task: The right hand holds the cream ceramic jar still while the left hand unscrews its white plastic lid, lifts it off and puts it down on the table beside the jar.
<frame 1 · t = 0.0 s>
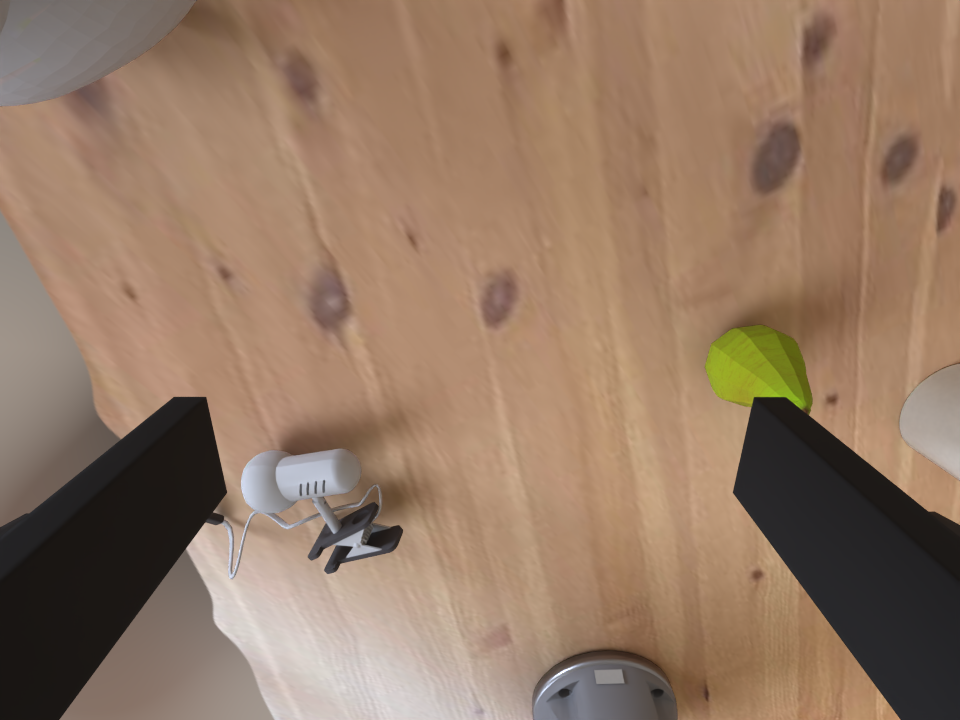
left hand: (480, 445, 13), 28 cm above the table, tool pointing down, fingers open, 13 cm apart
fruit: (732, 350, 42), on the table
clip-on lamp: (295, 494, 47), on the table
jar: (953, 410, 44), on the table
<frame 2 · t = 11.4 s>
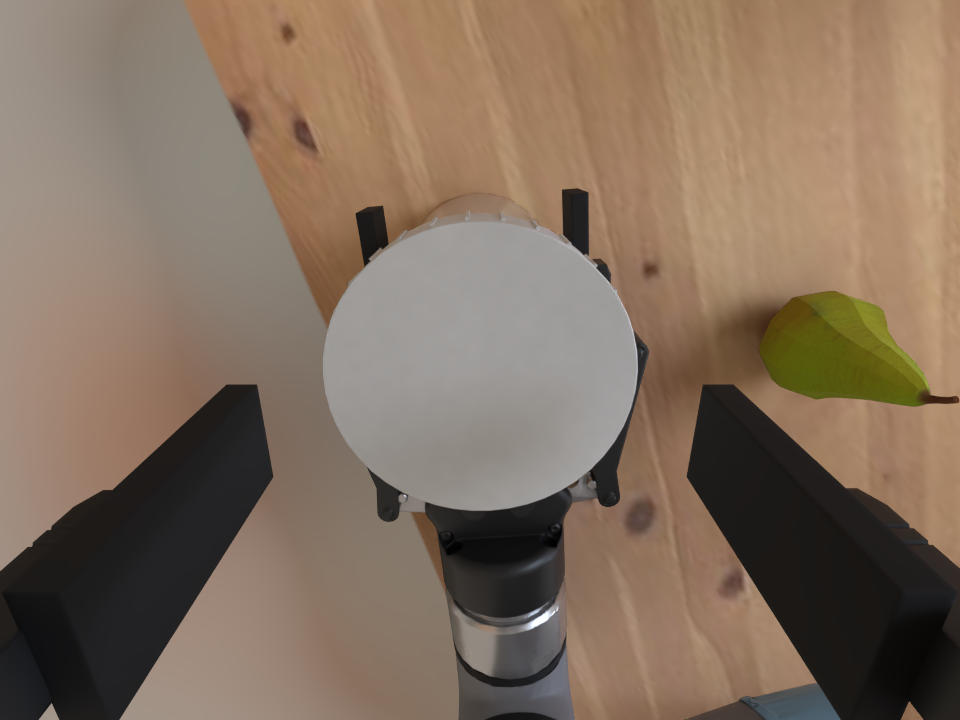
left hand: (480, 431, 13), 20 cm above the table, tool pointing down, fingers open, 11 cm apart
fruit: (791, 327, 33), on the table
jar: (480, 268, 32), on the table, touching right hand
lid: (480, 378, 17), point 17 cm above the table, screwed on, not yet turned
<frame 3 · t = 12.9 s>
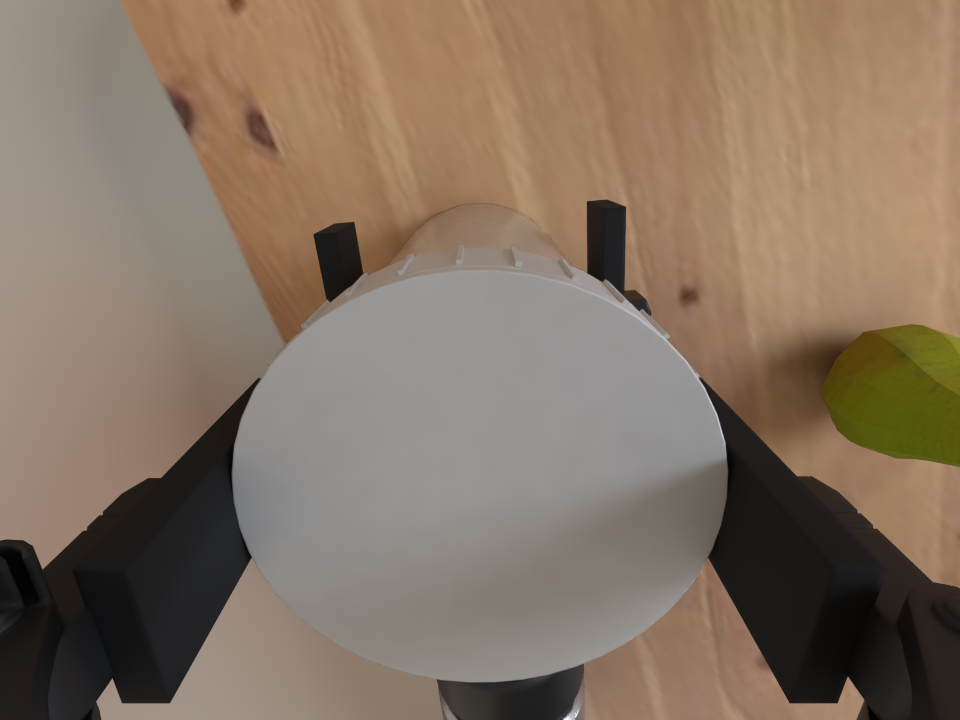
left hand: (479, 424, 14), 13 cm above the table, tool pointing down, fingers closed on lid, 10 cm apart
fruit: (857, 364, 27), on the table
jar: (480, 294, 26), on the table, touching right hand
lid: (479, 502, 11), point 17 cm above the table, screwed on, not yet turned, touching left hand
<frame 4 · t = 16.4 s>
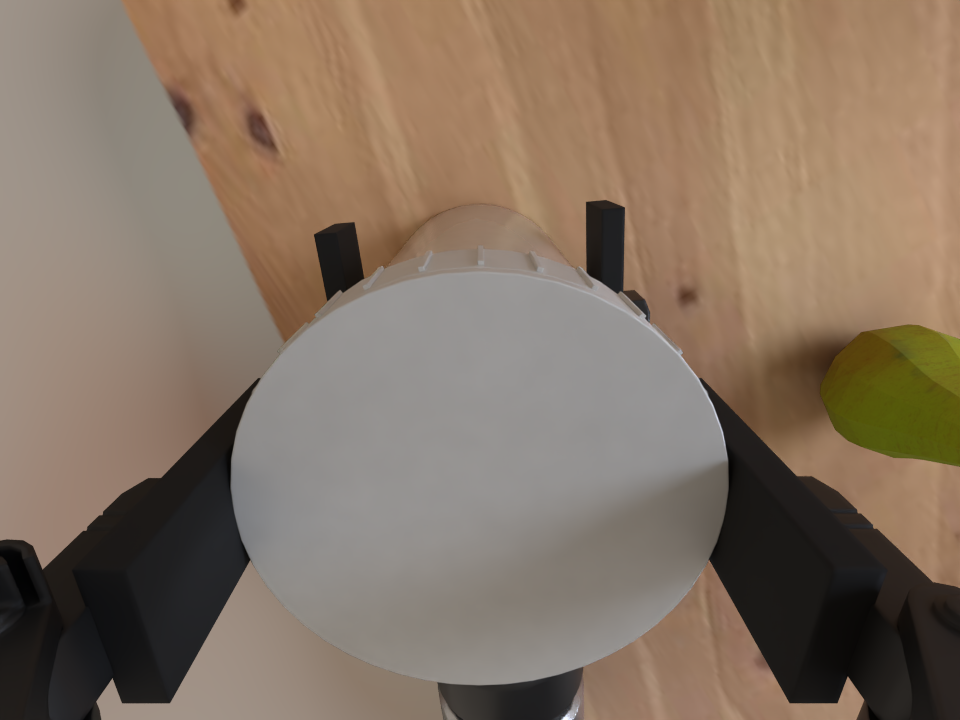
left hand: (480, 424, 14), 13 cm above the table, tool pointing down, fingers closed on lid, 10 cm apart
fruit: (855, 364, 28), on the table
jar: (479, 295, 26), on the table, touching right hand
lid: (479, 504, 11), point 17 cm above the table, turned 116° so far, risen 0.1 cm, still on its thread, touching left hand
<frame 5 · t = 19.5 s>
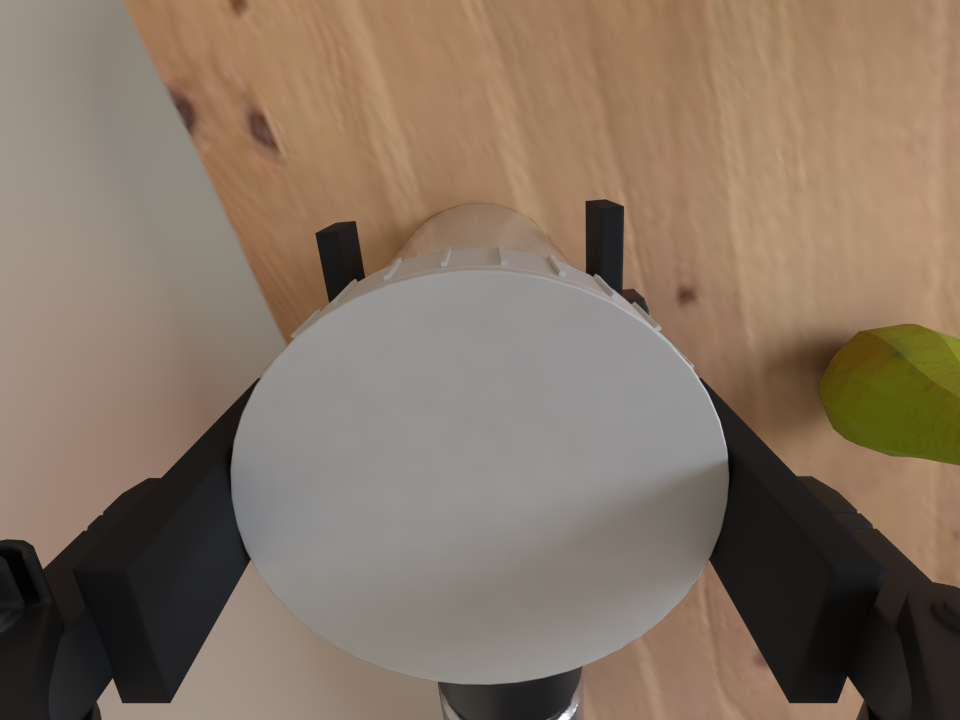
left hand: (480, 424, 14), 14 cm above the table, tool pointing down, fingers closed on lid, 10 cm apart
fruit: (854, 363, 28), on the table
jar: (479, 293, 26), on the table, touching right hand
lid: (479, 503, 11), point 17 cm above the table, turned 231° so far, risen 0.3 cm, still on its thread, touching left hand
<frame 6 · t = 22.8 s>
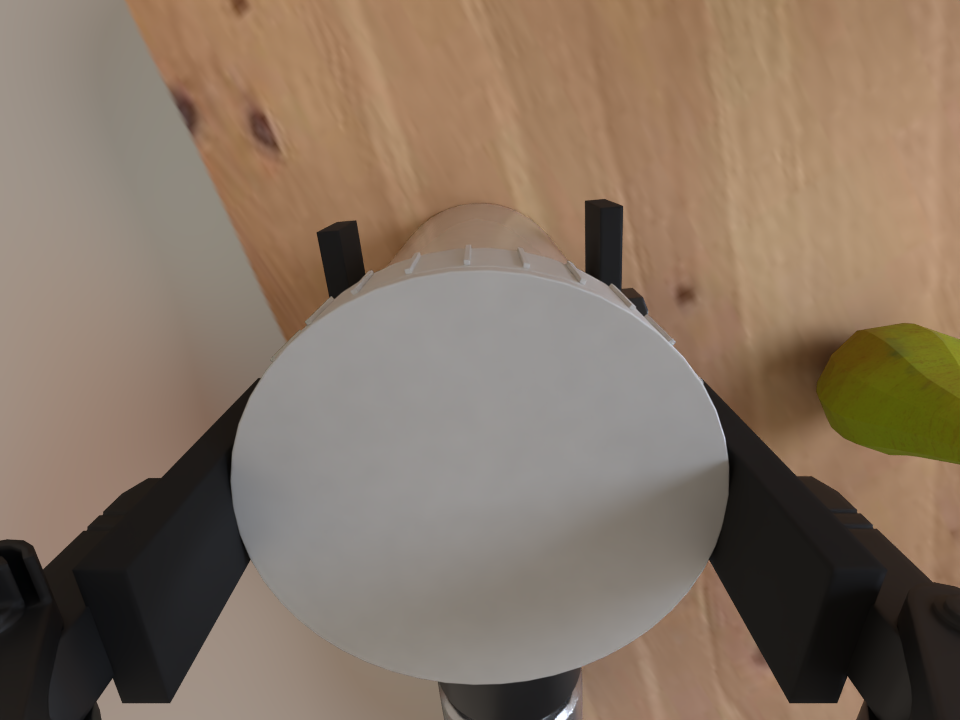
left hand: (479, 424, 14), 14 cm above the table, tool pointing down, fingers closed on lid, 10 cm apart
fruit: (852, 363, 28), on the table
jar: (479, 293, 26), on the table, touching right hand
lid: (480, 503, 11), point 17 cm above the table, turned 346° so far, risen 0.4 cm, still on its thread, touching left hand
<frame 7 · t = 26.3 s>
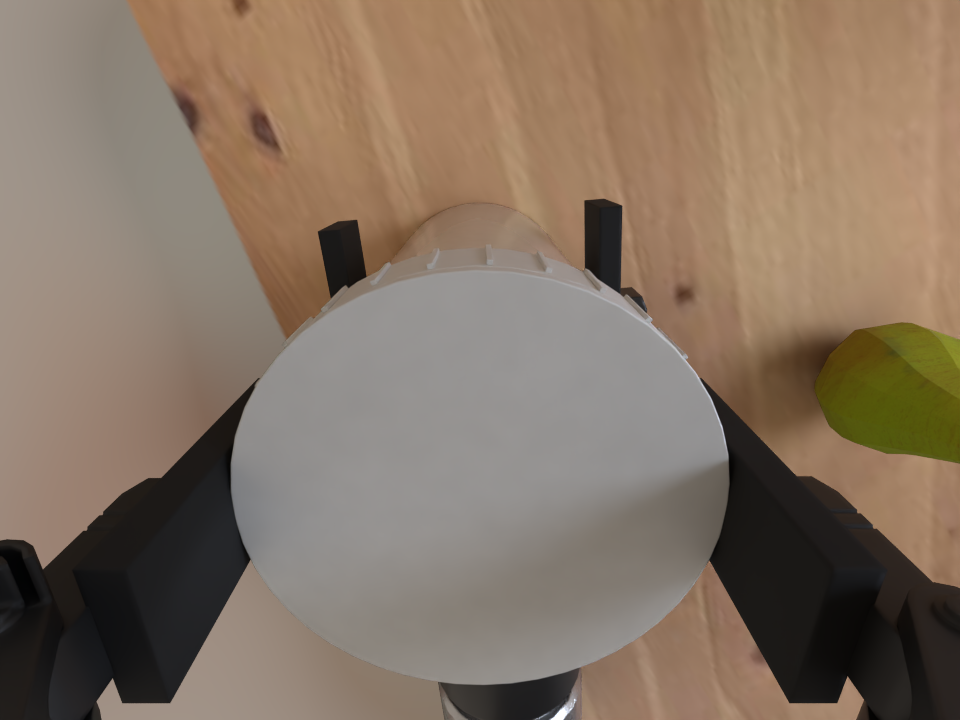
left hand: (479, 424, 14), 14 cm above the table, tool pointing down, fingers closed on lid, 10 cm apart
fruit: (850, 362, 28), on the table
jar: (479, 292, 26), on the table, touching right hand
lid: (480, 503, 11), point 17 cm above the table, turned 462° so far, risen 0.5 cm, still on its thread, touching left hand
when the left hand's fingers open (0 cm above the table, at t = 32.2 s): lid drops 2 cm, point 2 cm above the table.
when the right hand's fingers open (6 cm above the table, at t = 33.2 s): jar stays where it is, on the table.
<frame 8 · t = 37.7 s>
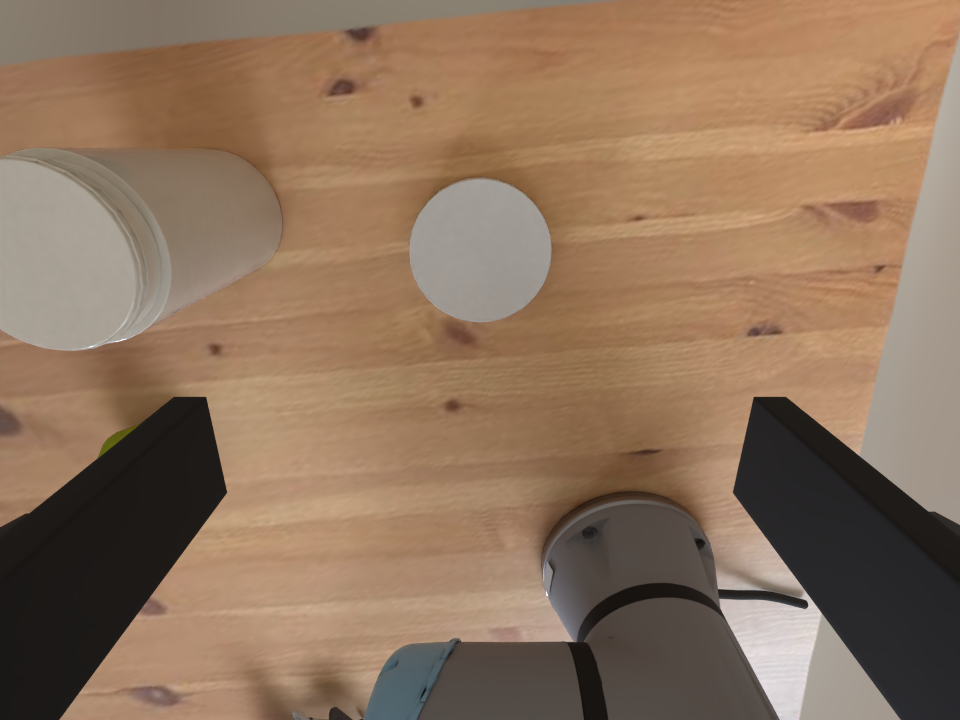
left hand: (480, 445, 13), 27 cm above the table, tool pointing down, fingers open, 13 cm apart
fruit: (167, 443, 44), on the table
jar: (220, 215, 37), on the table
lid: (480, 253, 36), point 2 cm above the table, off its thread
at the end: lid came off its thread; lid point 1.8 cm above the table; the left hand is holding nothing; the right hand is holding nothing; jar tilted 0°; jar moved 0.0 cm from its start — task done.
